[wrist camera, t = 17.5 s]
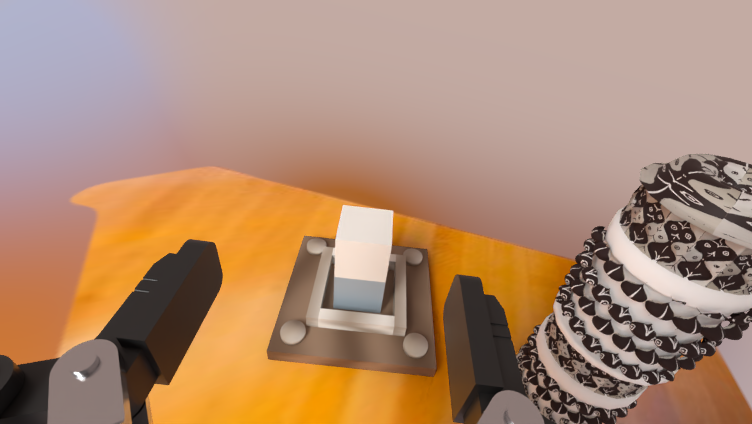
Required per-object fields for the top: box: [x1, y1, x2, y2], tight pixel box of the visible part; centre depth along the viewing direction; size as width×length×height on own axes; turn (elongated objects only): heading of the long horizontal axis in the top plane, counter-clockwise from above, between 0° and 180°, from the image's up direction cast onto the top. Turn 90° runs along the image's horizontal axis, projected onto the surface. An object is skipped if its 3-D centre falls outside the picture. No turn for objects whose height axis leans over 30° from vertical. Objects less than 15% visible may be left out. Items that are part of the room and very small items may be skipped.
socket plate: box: [267, 236, 437, 377], centre depth 39 cm, size 16×16×3 cm
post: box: [333, 205, 393, 313], centre depth 36 cm, size 5×5×10 cm
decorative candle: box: [516, 154, 752, 424], centre depth 25 cm, size 9×9×25 cm
